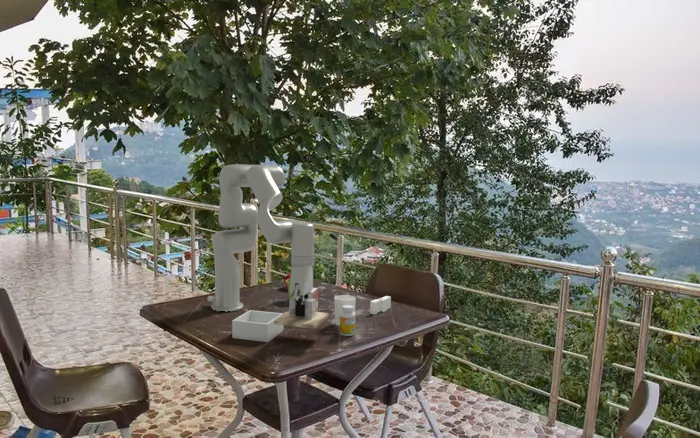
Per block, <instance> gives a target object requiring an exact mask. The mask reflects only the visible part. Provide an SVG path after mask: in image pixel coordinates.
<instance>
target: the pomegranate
mask: <svg viewBox="0 0 700 438" xmlns="http://www.w3.org/2000/svg"><path fill="white" fill-rule="evenodd" d="M290 278H291V272H287V273H286V275H285V277H284V280H283V283H284V285H285V288H286V289H288V286H287V282H286V280H287V279H290Z"/></svg>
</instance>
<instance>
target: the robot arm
mask: <svg viewBox="0 0 700 438" xmlns="http://www.w3.org/2000/svg"><path fill="white" fill-rule="evenodd" d="M218 181H219V187H220V198H219V207H218V208H219V209H218V223H219V226H220V227H222V228H224V229H226V230H221V231H220V230H219V231H217V232H216V233H214V234H213V236H212V238H211V245H212V250H213V255H214V256H213V258H214V293H215V294H214V295H208V296H207V300H206V301H207V302H210V303H212V304H211V306H210V307H211V310H212V309H213V310H212V311H215V310H216V311H215V312H220V311H225V312H226V313H227V312H228V311H230V312H235V311H239V310H240V311H241V309H243V308H244V303H243V302H241V301H240V264H239V261H238V259H237V258H236V256H235V254H240V253H246V252H250V251H252V250H253V249H254V248H255V246H256V241H257V240H256V239H257V232H258V227H259V230H260V231H261V234H262V235H263V237H264V238H265V239H266V241H267V242H268V243H270V244H274V245H279V244H287V243H288V244H290V243H291V247H290V252H291V253H290V256H291V258H290V260H291V261H290V264H291V270H290V273H291V278H290V295H294V296H293V299H294V300H295V316H301V317H304V316H305V305H304V298H310V291H312V289H313V288H314V270H313V268H314V267H313V266H314V265H315V226H314V224H312V223H311V222H303V221H301V220H298V219H289V220H277V221H275V220H274V218H273V217H272V215H271V214H270V212H271V210H274V209H275V208H276V207H278V206H279V205H280V204H281V202H282V201H283V194H282V192H281V190H280V188H282V186H284V184H285V182H286V175H285V172H284V170H283V169H282V168H281V167H280V166H278V165H274V164H273V165H270V164H269V165H267V164H266V165H265V164H264V165H263V164H242V163H239V164H238V163H237V164H235V163H233V164H228V165H224V166H223V167H222V168H221V170H220V172H219V176H218ZM241 188H250V189H251V191H252V193H253V194H254V196H255V199H256V200H257V202H258V204H259V207H258V209H257V207H256V206H255V205H254V204H252V203H249V202H248V203H247V202H246V203H245V202H244V203H243V200H244V197H243V196H244V195H243V190H242V189H241ZM235 228H236V229H235ZM237 228H240V229H237ZM299 293H301V295H299ZM299 297H301V298H299ZM225 312H224V313H225ZM228 313H229V312H228Z"/></svg>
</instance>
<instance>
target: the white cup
mask: <svg viewBox="0 0 700 438" xmlns="http://www.w3.org/2000/svg"><path fill="white" fill-rule="evenodd" d="M333 299H334V302H333V303H334V317H335V318H334V319H335V320H334V321H335V322H334V323H335V325H336V326H338V327H340V313H341V312H343V311H342V306H344V305H352V306H354V311H353V312H354V313H355V314H356V302H357V299H356V296H354V295H348V294H341V295H336V296H334V298H333Z"/></svg>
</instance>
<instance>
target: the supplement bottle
mask: <svg viewBox="0 0 700 438" xmlns="http://www.w3.org/2000/svg"><path fill="white" fill-rule="evenodd" d="M342 311H343V312H341V313H340V326H339V334H340V335H341V336H344V337H350V336H351V337H352V336H355V334H356V318H357V317H356V315H357V314H356V312H355V313H354V312H353V311H354V306H352V305H344V306H342Z"/></svg>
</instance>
